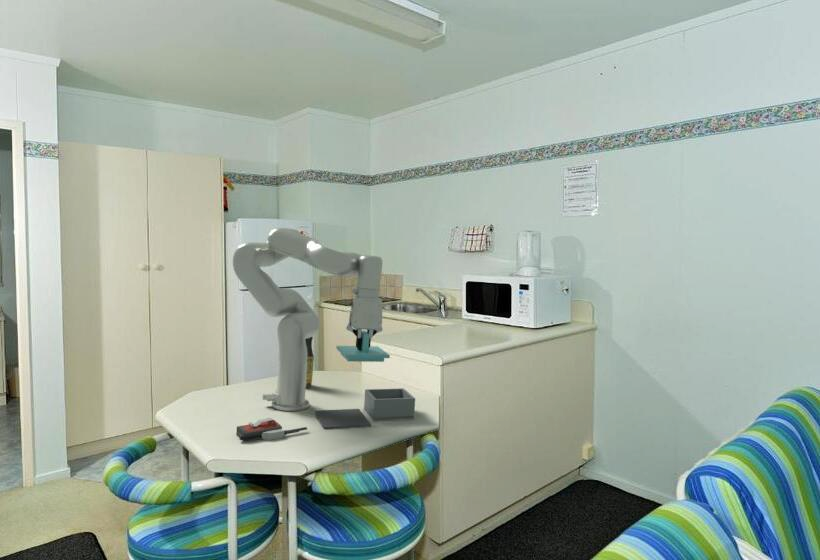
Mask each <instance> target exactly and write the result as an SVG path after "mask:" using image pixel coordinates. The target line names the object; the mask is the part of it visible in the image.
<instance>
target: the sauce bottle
mask: <svg viewBox="0 0 820 560" xmlns="http://www.w3.org/2000/svg"><path fill="white" fill-rule="evenodd" d="M313 339H314V336H312V337H310V338H307V339H305V341H306V346H307V373H306V388H310V387H311V386H312V383H313V373H314V372H313V371H314V360H315V359H314V358H315V356H314V352H313V347H312V346H313Z"/></svg>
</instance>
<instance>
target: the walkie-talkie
mask: <svg viewBox="0 0 820 560" xmlns="http://www.w3.org/2000/svg"><path fill="white" fill-rule="evenodd" d="M306 430H308V427H307V426H305V427H299V428H292V429H288V430H287V429H286V430H283V426H282V425H281V424H280V423H279V422H277V421H276V420H275V419H273V418H272V417H268V418H262V419H258V420H257V421H256V422H248V424H244V425H237V426H236V436H237V437H238V438H239V440H240V441H242V442H251V441H256V440H261V439H262V440H276V439H283V438H285V436H287V435H289V434H294V433H299V432H301V431H306Z"/></svg>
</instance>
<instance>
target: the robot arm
mask: <svg viewBox="0 0 820 560" xmlns="http://www.w3.org/2000/svg"><path fill="white" fill-rule="evenodd" d="M289 257H290V258H292V259H294V260H298V261H300V262H303V263H306V264H307V265H309V266H311V267H312V268H315V269H317V270H319V271H322V272H325V273H327V274H330V275H333V276H337V277H346V276H348V277H349V276H357V278H356V279H357V282H356V287H355V288H353V289H352V290H351V293H352V294H354V295H355V296H354V297H353V299H352V303H351V307H350V311H349V317H348V318H349V319H348V324H347V326H346V328H345V329H346V330H347V331H348V332H351V333H353V335H355V338H356V340H355V346H356V347H357V349H358V350H360V351H361V349H362V336H361V333H362V330H366V332H367V333H369V334H370V337H369V348H370V346H371V342H372V339H373V337H374V336H375V335H376V334H378V333H381V332H383V327H382V325H383V299H382V298H380V294H381V293H380V292H381V283H382V273H383V272H382V271H383V258H382V257H381V256H377V255H370V254H369V255H368V254H360V253H357V252H350V251H349V252H348V251H345V252H341V251H337V250H335V249H331V248H329V247H326V246H324V245H321V244H320V243H319V241H318V240H317V239H316V238H313V237H311V236H308V235H306V234H305V235H304V234H302V233H301V232H300V231H299V230H297V229H294V228H289V227H287V228H285V227H277V228H274V229H272V230H271V231H270V232H269V233H268V236H267V241H266V242H246V243H242V244H240V245H239V246H237V248H236V249H235V251H234V253H233V257H232V266H233V271H234V274H235V276H237V277H236V278H237V279H238V280H239V281H240V282H241V284H243V286H244V287H245V288H246V289H247V290H248V292H249V293H250V295H251V296H252V297H253V298H254V299H255V301H256V302H257V303H258V305H259V306H260V307H261V308H262V310H264V312H265V313H266V314H267V315H268V316H270V317H272V318H279V317H282V318H281V319H280V321H279V323H278V325H277V330H276V331H277V332H276V333H277V339H278V340H277V342H278V364H277V365H278V367H277V369H278V370H277V382H276V383H277V386H276V390H275V391H274V392H272V393H270V394H269V393H264V394H263V393H262V401H266V402H271V407H272V408H274V409H276V410H278V411H279V410H280V411H285V412H295V411H297V412H298V411H302V410H305V409H308V408H309V407H310V401H309V400H308V399H306V392H307V391H306V390H307V389H306V388H307V387H306V373H307V346H306V341H305V339H307V338H310V337H312V336H313V337H315V335H317V334H318V333H319V330H320V328H321V323H320V318H319V316H318V315H317V314H316V312H315V311H314V310H313V309H312V307H311V306H310V305H309V304H308V303H307V301H306V300H305V298H304V297H303V296H302V295H301V293H299V292H298V291H296V290H295V289H292V288H289V287H285V288H281V287H279V286H278V285H277V284H276V282H275V281H274V280H273V279H272V278H271V276H270V275H269V274H267V272H266V271H264V270H262V267H263V268H265V267H271V266H273V265H276V264H279V262H282V261H284V260H285V259H287V258H289ZM283 316H284V317H283ZM369 348H368V350H369Z"/></svg>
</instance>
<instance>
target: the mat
mask: <svg viewBox="0 0 820 560" xmlns="http://www.w3.org/2000/svg"><path fill="white" fill-rule="evenodd" d="M314 414H315V415H316V417H317V420H318V422H319V423H320V425H321V427H322V429H323V430H328V429H329V430H331V429H333V430H334V429H335V428H336V429H351V428H350V427H355V428H371V427H372V424H371V422H370V421H369V420H368V419H367V417H366V416H365V415H364V413H363V412H362V411H361V409H360V408H347V409H324V410H323V409H320V410H315V411H314ZM336 429H335V430H336Z"/></svg>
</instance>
